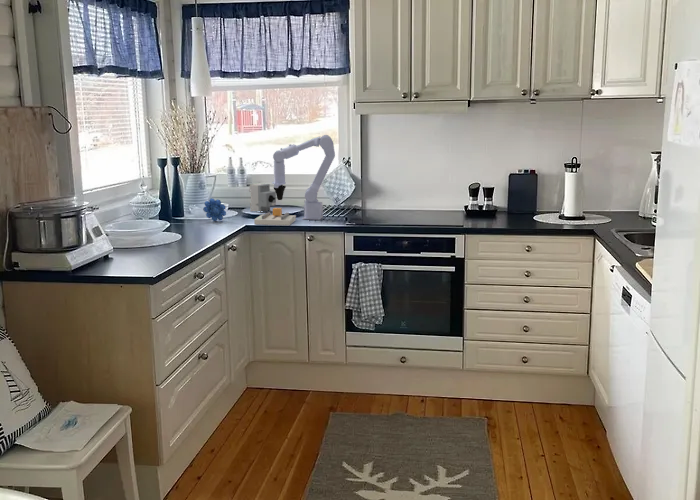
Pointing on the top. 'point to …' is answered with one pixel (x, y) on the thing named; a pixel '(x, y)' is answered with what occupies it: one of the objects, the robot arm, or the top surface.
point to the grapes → (214, 209)
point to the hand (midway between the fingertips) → (279, 199)
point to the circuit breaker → (261, 197)
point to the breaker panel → (275, 219)
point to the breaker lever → (277, 211)
